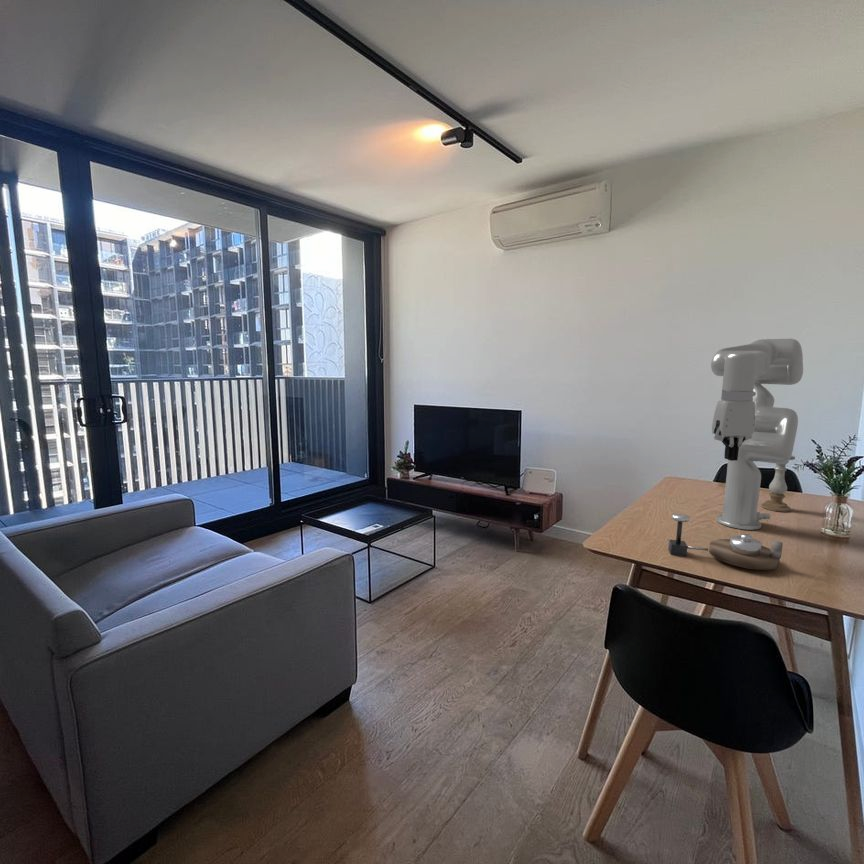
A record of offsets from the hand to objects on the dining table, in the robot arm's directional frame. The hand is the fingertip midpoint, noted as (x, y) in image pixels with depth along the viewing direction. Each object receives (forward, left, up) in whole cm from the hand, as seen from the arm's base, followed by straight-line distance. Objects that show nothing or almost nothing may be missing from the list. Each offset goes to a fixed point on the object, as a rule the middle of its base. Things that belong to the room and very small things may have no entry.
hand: (730, 459), depth 134 cm
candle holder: (-44, -32, -26) cm, 61 cm away
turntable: (+2, +11, -25) cm, 27 cm away
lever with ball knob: (+14, +6, -26) cm, 30 cm away
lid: (+2, +12, -23) cm, 26 cm away
